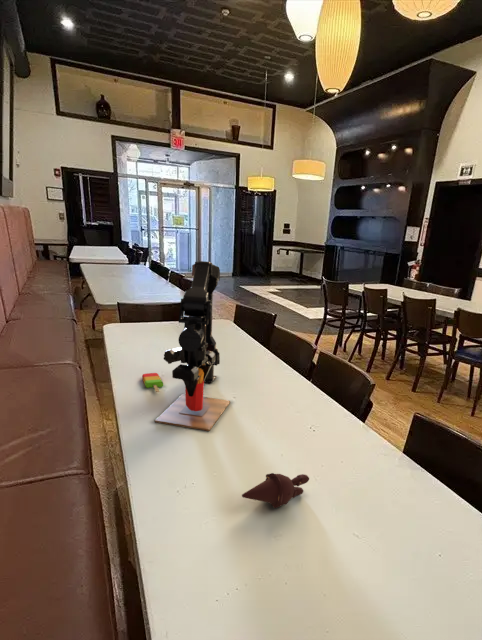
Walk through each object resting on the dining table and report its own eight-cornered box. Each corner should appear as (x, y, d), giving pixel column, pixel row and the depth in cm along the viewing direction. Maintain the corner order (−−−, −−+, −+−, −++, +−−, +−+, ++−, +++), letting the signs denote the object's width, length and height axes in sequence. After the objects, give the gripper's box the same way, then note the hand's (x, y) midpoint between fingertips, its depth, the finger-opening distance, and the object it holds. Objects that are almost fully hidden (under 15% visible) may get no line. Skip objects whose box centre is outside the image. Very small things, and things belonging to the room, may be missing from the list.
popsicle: (157, 377, 146) (157, 372, 146) (166, 393, 134) (166, 388, 133) (141, 378, 144) (141, 373, 143) (149, 395, 131) (148, 389, 131)
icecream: (253, 498, 77) (319, 486, 84) (239, 469, 82) (302, 460, 89) (244, 522, 80) (308, 509, 88) (232, 493, 86) (293, 482, 93)
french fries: (183, 402, 125) (182, 364, 120) (195, 400, 127) (195, 363, 122) (193, 413, 118) (193, 374, 114) (206, 411, 120) (207, 372, 116)
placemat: (182, 395, 133) (182, 393, 133) (230, 402, 131) (230, 400, 131) (154, 422, 115) (154, 420, 115) (209, 431, 113) (209, 429, 112)
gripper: (181, 329, 125) (181, 377, 130) (153, 345, 108) (154, 400, 113) (216, 333, 123) (215, 382, 129) (193, 351, 106) (193, 406, 112)
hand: (195, 391), depth 121 cm, fingers closed on french fries, 6 cm apart
